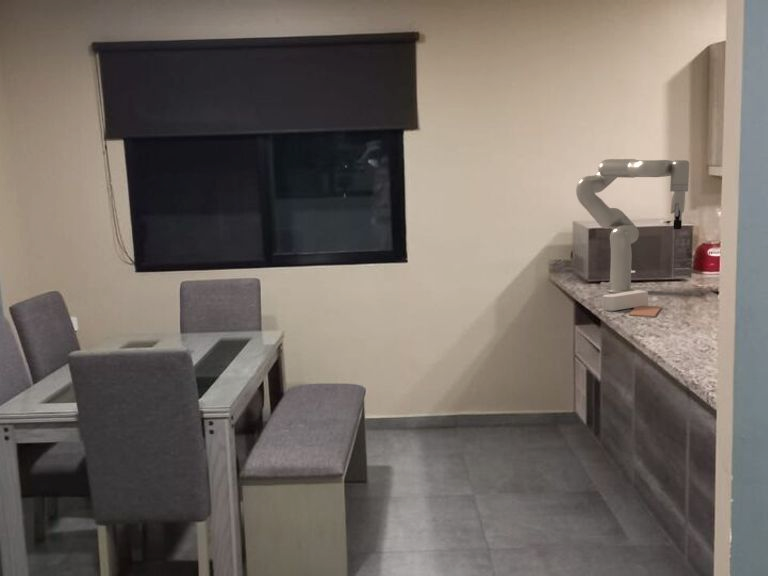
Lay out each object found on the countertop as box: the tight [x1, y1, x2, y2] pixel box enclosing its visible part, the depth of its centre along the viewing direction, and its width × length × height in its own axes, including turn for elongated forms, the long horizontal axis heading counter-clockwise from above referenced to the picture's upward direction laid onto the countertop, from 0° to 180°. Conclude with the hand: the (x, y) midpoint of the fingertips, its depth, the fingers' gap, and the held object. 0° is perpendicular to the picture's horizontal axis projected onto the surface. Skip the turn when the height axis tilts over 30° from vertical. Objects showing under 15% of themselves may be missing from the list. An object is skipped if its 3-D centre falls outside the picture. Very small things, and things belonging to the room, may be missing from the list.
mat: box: [628, 305, 662, 318], centre depth 314 cm, size 10×20×1 cm, turn 153°
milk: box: [601, 289, 649, 312], centre depth 322 cm, size 6×6×22 cm
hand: (677, 229), depth 341 cm, fingers closed
